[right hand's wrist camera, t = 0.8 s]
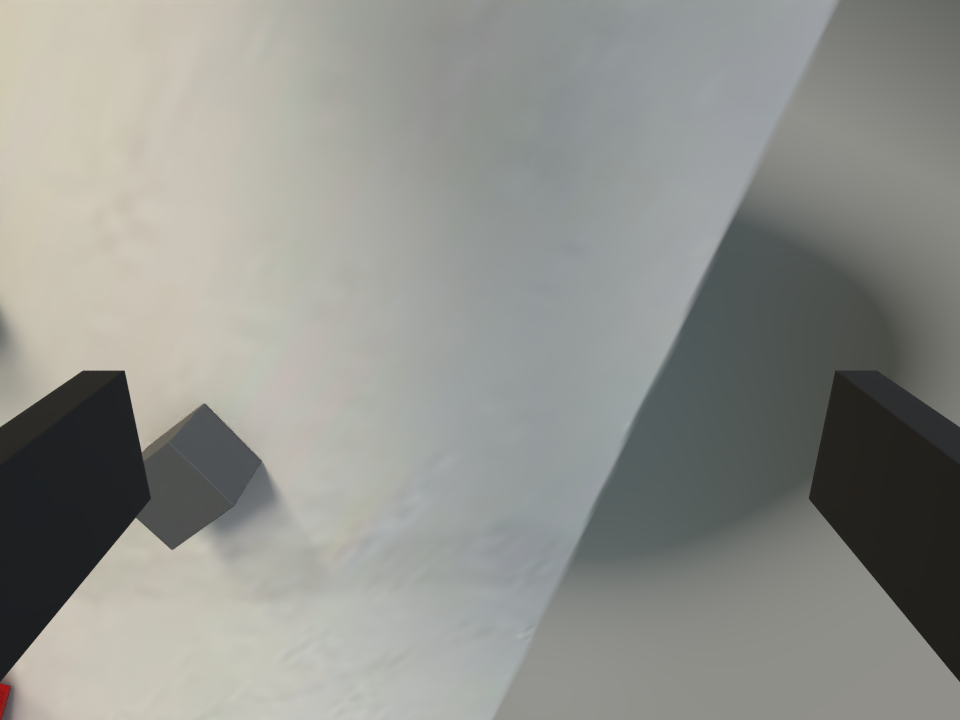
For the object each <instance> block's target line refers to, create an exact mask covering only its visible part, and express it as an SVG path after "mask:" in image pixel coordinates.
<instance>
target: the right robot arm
mask: <svg viewBox="0 0 960 720" xmlns="http://www.w3.org/2000/svg"><path fill="white" fill-rule="evenodd" d="M150 499H151V495H150V491H149V486H148V481H147V476H146V471H145V467H144V462H143V457H142V452H141V447H140V442H139V438H138V433H137V428H136V423H135V418H134V414H133V409H132V404H131V399H130V394H129V390H128V385H127V380H126V375H125V371H82V372H80V373H79V374H78V375H76V376H75V377H73V378H72V379H70V380H69V381H67V382H66V383H64V384H63V385H61V386H60V387H58V388H57V389H56V390H54V391H53V392H51V393H50V394H48V395H47V396H45V397H44V398H42V399H41V400H39V401H38V402H37V403H35V404H34V405H32V406H31V407H29V408H28V409H26V410H25V411H23V412H22V413H20V414H19V415H18V416H16V417H15V418H13V419H12V420H10V421H9V422H7V423H6V424H4V425H3V426H1V427H0V682H1V680H2V679H3V678H4V677H5V675H6V674H7V673H8V672H9V671H10V669H11V668H12V667H13V666H14V665H15V663H16V662H17V661H18V660H19V658H20V657H21V656H22V655H23V654H24V652H25V651H26V650H27V649H28V648H29V646H30V645H31V644H32V643H33V641H34V640H35V639H36V638H37V637H38V635H39V634H40V633H41V632H42V631H43V629H44V628H45V627H46V626H47V624H48V623H49V622H50V621H51V620H52V618H53V617H54V616H55V615H56V614H57V612H58V611H59V610H60V609H61V607H62V606H63V605H64V604H65V603H66V601H67V600H68V599H69V598H70V597H71V595H72V594H73V593H74V592H75V590H76V589H77V588H78V587H79V586H80V584H81V583H82V582H83V581H84V580H85V578H86V577H87V576H88V575H89V573H90V572H91V571H92V570H93V569H94V567H95V566H96V565H97V564H98V563H99V561H100V560H101V559H102V558H103V556H104V555H105V554H106V553H107V552H108V550H109V549H110V548H111V547H112V546H113V544H114V543H115V542H116V541H117V539H118V538H119V537H120V536H121V535H122V533H123V532H124V531H125V530H126V529H127V527H128V526H129V525H130V524H131V523H132V521H133V520H134V519H135V518H136V516H137V515H138V514H139V513H140V512H141V510H142V509H143V508H144V507H145V506H146V504H147V503H148V502H149V501H150ZM809 499H810V501H811V502H812V503H813V504H814V505H815V507H816V508H817V509H818V510H819V512H820V513H821V514H822V515H823V516H824V518H825V519H826V520H827V521H828V523H829V524H830V525H831V526H832V527H833V529H834V530H835V531H836V532H837V533H838V535H839V536H840V537H841V538H842V539H843V541H844V542H845V543H846V544H847V546H848V547H849V548H850V549H851V550H852V552H853V553H854V554H855V555H856V556H857V558H858V559H859V560H860V561H861V563H862V564H863V565H864V566H865V567H866V569H867V570H868V571H869V572H870V573H871V575H872V576H873V577H874V578H875V580H876V581H877V582H878V583H879V584H880V586H881V587H882V588H883V589H884V590H885V592H886V593H887V594H888V595H889V597H890V598H891V599H892V600H893V601H894V603H895V604H896V605H897V606H898V607H899V609H900V610H901V611H902V612H903V614H904V615H905V616H906V617H907V618H908V620H909V621H910V622H911V623H912V624H913V626H914V627H915V628H916V629H917V631H918V632H919V633H920V634H921V635H922V636H923V638H924V639H925V640H926V641H927V643H928V644H929V645H930V646H931V648H932V649H933V650H934V651H935V652H936V654H937V655H938V656H939V657H940V658H941V660H942V661H943V662H944V663H945V665H946V666H947V667H948V668H949V669H950V671H951V672H952V673H953V674H954V675H955V677H956V678H957V679H958V680H959V681H960V427H958V426H957V425H956V424H954V423H953V422H951V421H950V420H948V419H947V418H945V417H944V416H942V415H941V414H940V413H938V412H937V411H935V410H934V409H932V408H931V407H929V406H928V405H926V404H925V403H923V402H922V401H921V400H919V399H918V398H916V397H915V396H913V395H912V394H910V393H909V392H907V391H906V390H904V389H903V388H902V387H900V386H899V385H897V384H896V383H894V382H893V381H891V380H890V379H888V378H887V377H885V376H884V375H882V374H881V373H880V372H878V371H835V375H834V380H833V385H832V390H831V394H830V399H829V404H828V409H827V414H826V418H825V423H824V428H823V433H822V438H821V442H820V447H819V452H818V457H817V462H816V467H815V471H814V476H813V481H812V486H811V491H810V495H809Z"/></svg>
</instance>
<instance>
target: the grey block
mask: <svg viewBox="0 0 960 720" xmlns="http://www.w3.org/2000/svg"><path fill="white" fill-rule="evenodd" d="M142 457H143V462H144V467H145V471H146V476H147V481H148V486H149V491H150V495H151V499H150V501H149V502H148V503H147V504H146V506H145V507H144V508H143V509H142V510H141V512H140V513H139V514H138V515H137V516H136V518H137V519H138V520H139V521H140V522H141V523H143V524H144V525H145V526H146V527H147V528H148V529H149V530H150V531H151V532H153V533H154V534H155V535H156V536H157V537H158V538H159V539H160V540H161V541H162V542H164V543H165V544H166V545H167V546H168V547H169V548H170V549H171V550H173V549H175V548H176V547H177V546H179V545H180V544H182V543H183V542H184V541H186V540H187V539H189V538H190V537H191V536H193V535H194V534H196V533H197V532H198V531H200V530H201V529H203V528H204V527H205V526H207V525H208V524H209V523H211V522H212V521H214V520H215V519H216V518H218V517H219V516H221V515H222V514H223V513H225V512H226V511H228V510H229V509H230V508H232V507H233V506H234V505H235V504H236V502H237V500H238V499H239V497H240V495H241V494H242V492H243V491H244V489H245V487H246V486H247V484H248V482H249V481H250V479H251V477H252V476H253V474H254V473H255V471H256V469H257V468H258V466H259V464H260V463H261V460H260V459H259V458H258V457H257V456H256V455H255V454H254V453H253V452H252V451H251V450H250V449H249V448H248V447H247V446H246V445H245V444H244V443H243V442H242V441H241V440H240V439H239V438H238V437H237V436H236V435H235V434H234V433H233V432H232V431H231V430H230V429H229V428H228V427H227V426H226V425H225V424H224V423H223V422H222V421H221V420H220V419H219V418H218V417H217V416H216V415H215V414H214V413H213V412H212V411H211V410H210V409H209V408H208V407H207V406H206V405H205V404H203V405H201V406H200V407H199V408H197V409H196V410H195V411H193V412H192V413H191V414H190V415H188V416H187V417H186V418H184V419H183V420H182V421H181V422H179V423H178V424H177V425H175V426H174V427H173V428H171V429H170V430H169V431H168V432H166V433H165V434H164V435H162V436H161V437H160V438H159V439H157V440H156V441H155V442H153V443H152V444H151V445H149V446H148V447H147V448H146V449H145V450H144V451H143V452H142Z"/></svg>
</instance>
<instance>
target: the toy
mask: <svg viewBox="0 0 960 720" xmlns="http://www.w3.org/2000/svg"><path fill="white" fill-rule="evenodd" d="M10 688H11V686H7V685H3V684H0V720H1V719H2V715H3V712H4V708H5V705H6V702H7V698H8V695H9V691H10Z"/></svg>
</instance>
